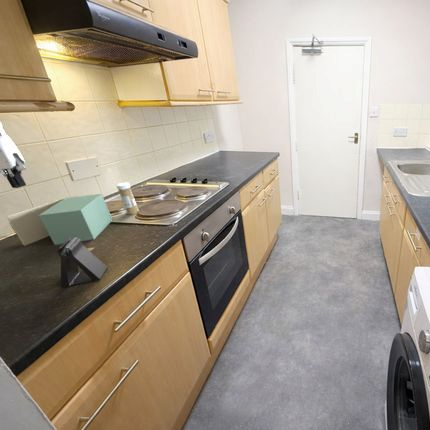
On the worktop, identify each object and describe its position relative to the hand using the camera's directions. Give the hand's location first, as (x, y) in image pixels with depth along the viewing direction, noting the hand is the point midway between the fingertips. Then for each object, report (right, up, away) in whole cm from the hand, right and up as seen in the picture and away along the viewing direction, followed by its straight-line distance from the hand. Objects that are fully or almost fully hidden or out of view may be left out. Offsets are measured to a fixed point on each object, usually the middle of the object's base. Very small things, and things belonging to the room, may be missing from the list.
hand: (19, 186), depth 94 cm
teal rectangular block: (+16, -16, +9) cm, 25 cm away
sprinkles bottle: (+23, -9, +24) cm, 35 cm away
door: (+3, -17, +7) cm, 19 cm away
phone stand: (+39, -28, -17) cm, 52 cm away
